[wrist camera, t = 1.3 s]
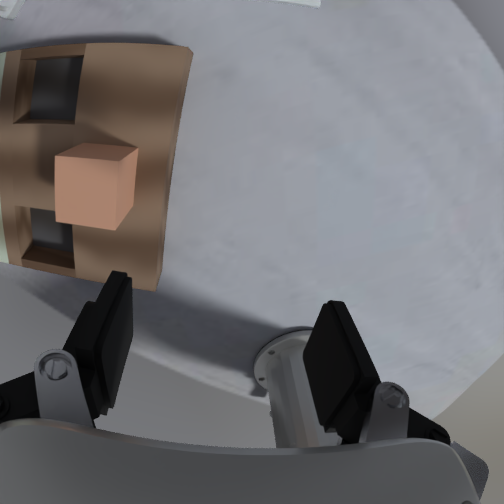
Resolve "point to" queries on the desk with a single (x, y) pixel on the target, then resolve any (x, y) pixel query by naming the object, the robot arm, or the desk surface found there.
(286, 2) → the external hard drive
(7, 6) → the file sorter
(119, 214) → the block
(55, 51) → the box
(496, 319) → the desk surface
